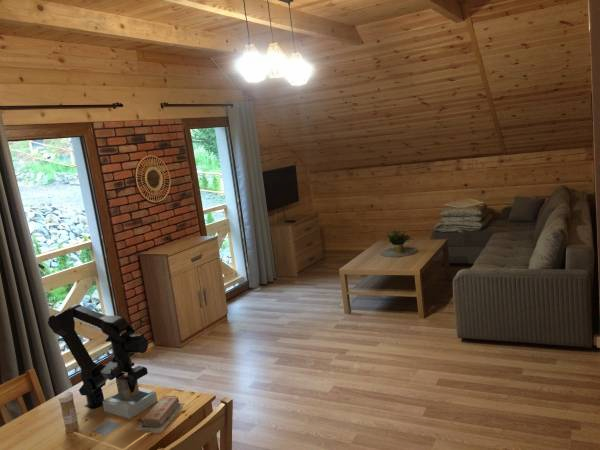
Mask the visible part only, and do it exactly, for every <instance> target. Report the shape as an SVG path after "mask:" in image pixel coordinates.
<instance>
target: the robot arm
mask: <svg viewBox="0 0 600 450" xmlns="http://www.w3.org/2000/svg"><path fill="white" fill-rule="evenodd" d="M75 319H77V320H79V321H82V322H84V323H86V324H89V325H92V326H94V327H97V328H99V329H100V330H101V332H102V333H103V334H105V335H107V336H108V337H107V338H106V339H105V342H109V343H111V349H112V354H113V355H112V356H111V357H110V361H109V362H107V363H105V364H102V363H99V364H97V363H96V362H94V361H93V359H92V357H91V355H90V354H89V352H88V350H87V349H86V347H85V345H84V343H83V341H82V339H81V338H80V336H79V334H78V333H77V331H76V328H75V327H76V321H75ZM47 324H48V327H49V328H50V329H51V330H52V332H53V334H55V335H58V336H59V337H61V339H63V341H64V343H65V345H66V346H67V349H68V350H69V352H70V353H71V355H72V356H73V359H74V360H75V362H76V364H77V365H78V367H79V368H80V371H81V373H80V374H81V375H80V376H81V377H80V379H81V381H82V383H83V384H82V385H81V387H80V388H79V390H78V391H79V394H80V396H85V398H86V399H85V400H86V404H85V405H84V406H83V407H85V408H89V409H91V410H96V409H97V408H100V407H101V406H103V402H102V401H104V400H105V396H104V392H103V389H102V388H103V387H104V386H106V383H107V381H108V380H109V381H113V380H114V379H116V378H118V377H120V376H122V375H124V374H125V373H128V374H127V375H128V377H126V378H124V379H125V380H127V381H128V385H129V388H130V391H131V393H132V392H134V389H135V386H136V383H138V380H140V378H142V377H144V376H147V375H148V374H149V373H148V367H145V366H142V365H137V366H135V362H133V361H132V358H131V356H133V354H145V353H146V352H147V350H148V347H149V341H148V340H147V337H145V336H144V335H143V333H138V334H136V331H135V329H134V328H133V327H132V325H130V324H129V323H128V322H127V319H126V318H125V317H123V316H119V315H107V314H103V313H101V312H98V311H95V310H93V309H90V308H87V307H86V306H83V305H82V304H80V303H76V304H73V305H71V306H70V307H68V308H67V309H63V310H60V311H58V312H56V313H54V314H52V315H51V316H49V317H48V321H47ZM134 366H135V367H134Z"/></svg>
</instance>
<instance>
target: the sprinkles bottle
mask: <svg viewBox="0 0 600 450" xmlns="http://www.w3.org/2000/svg"><path fill="white" fill-rule="evenodd" d="M58 402H59V403H60V408H61V414H62V419H63V423H64V427H65V432H66V433H67V434H68V433H73V432H75V431H76V430H78V428H79V427H80V425H79V422H78V421H79V420H78V416H77V410H76V406H75V402H74V394H73V392H72V391H65V392H63V393H61V394H60V395H58Z"/></svg>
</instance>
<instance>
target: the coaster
mask: <svg viewBox="0 0 600 450" xmlns="http://www.w3.org/2000/svg"><path fill="white" fill-rule="evenodd" d="M121 426H122V424H120V423H117V422H114V421H111V420H107V421H106V422H105V423H103V424H101V425H99V426H98V427H95V429H93V430H92V431H91V432H92V433H96V434H98V435H100V436H107V435H108V434H110V433H112V432H113V431H114V430H116V429H118V428H119V427H121Z"/></svg>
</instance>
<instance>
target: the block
mask: <svg viewBox="0 0 600 450" xmlns="http://www.w3.org/2000/svg"><path fill="white" fill-rule="evenodd" d="M127 374H128V373H125V374H124V375H122V376H120V377H118V378H115V383H116V388H117V393H118V394H119V399H122V400H125V401H127V400H129V399H130V398H132V397H134V396H135V395H137V394H139V388H138V387H139V384H138V382H137V383H136V386H135V389H134V392H132V393H131V391H130V388H129V385H128V381H127V380H125V379H124V378H126V377H128V375H127Z"/></svg>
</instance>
